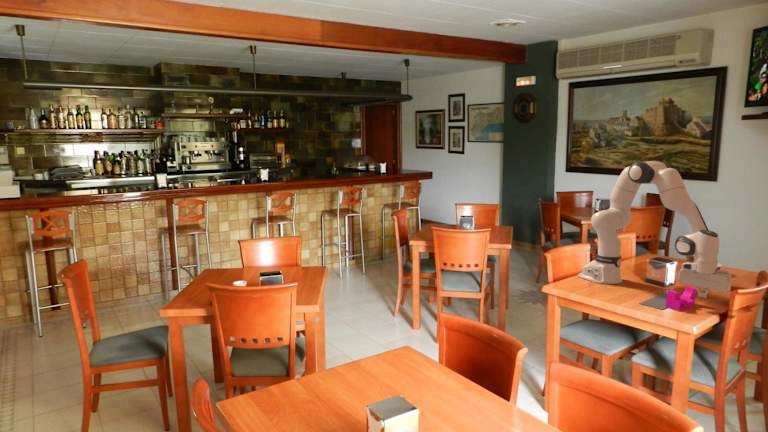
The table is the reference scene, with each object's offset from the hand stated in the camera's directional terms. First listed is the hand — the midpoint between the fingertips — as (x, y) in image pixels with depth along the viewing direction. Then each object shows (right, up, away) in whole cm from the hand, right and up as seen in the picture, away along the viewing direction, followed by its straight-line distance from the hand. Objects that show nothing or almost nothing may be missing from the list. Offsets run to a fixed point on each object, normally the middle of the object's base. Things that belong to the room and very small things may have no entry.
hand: (702, 297), depth 224 cm
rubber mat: (-10, -4, +14) cm, 18 cm away
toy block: (-5, -5, +7) cm, 10 cm away
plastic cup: (+27, 0, +38) cm, 47 cm away
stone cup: (+36, +5, +64) cm, 74 cm away
